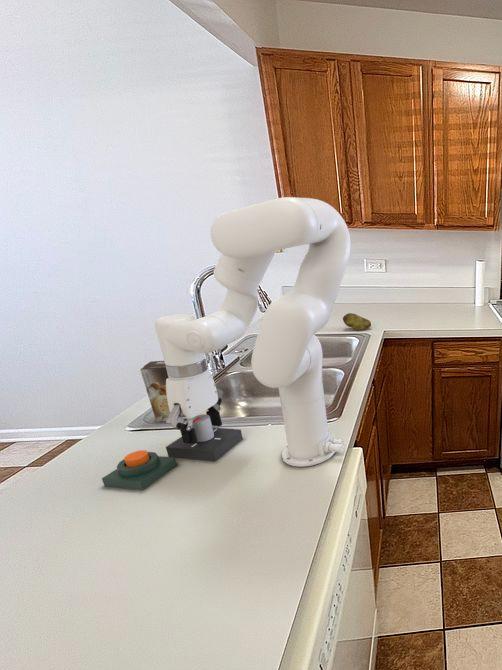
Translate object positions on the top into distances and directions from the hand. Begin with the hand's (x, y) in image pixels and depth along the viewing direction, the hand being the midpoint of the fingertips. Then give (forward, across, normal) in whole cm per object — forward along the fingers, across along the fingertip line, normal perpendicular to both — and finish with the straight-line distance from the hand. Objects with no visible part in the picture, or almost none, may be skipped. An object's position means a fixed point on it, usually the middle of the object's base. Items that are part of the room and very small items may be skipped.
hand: (203, 433), depth 98 cm
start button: (+1, +12, -6) cm, 13 cm away
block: (+4, +12, -6) cm, 14 cm away
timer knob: (+1, 0, 0) cm, 1 cm away
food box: (+4, -14, -20) cm, 25 cm away
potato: (0, -107, -4) cm, 107 cm away
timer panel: (+4, 0, 0) cm, 4 cm away
